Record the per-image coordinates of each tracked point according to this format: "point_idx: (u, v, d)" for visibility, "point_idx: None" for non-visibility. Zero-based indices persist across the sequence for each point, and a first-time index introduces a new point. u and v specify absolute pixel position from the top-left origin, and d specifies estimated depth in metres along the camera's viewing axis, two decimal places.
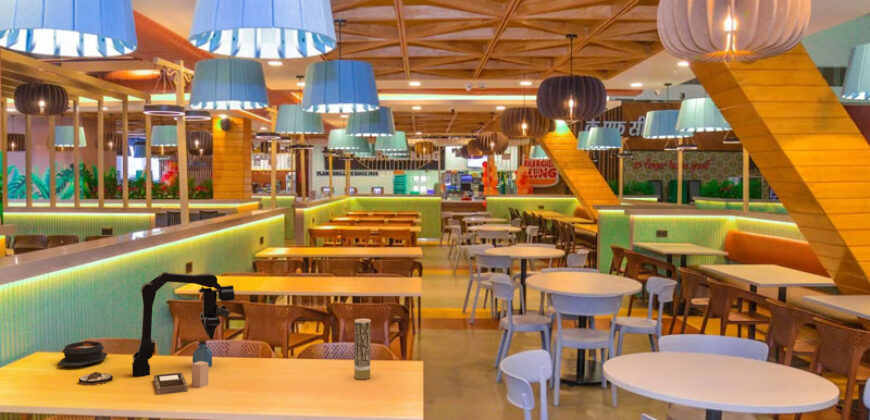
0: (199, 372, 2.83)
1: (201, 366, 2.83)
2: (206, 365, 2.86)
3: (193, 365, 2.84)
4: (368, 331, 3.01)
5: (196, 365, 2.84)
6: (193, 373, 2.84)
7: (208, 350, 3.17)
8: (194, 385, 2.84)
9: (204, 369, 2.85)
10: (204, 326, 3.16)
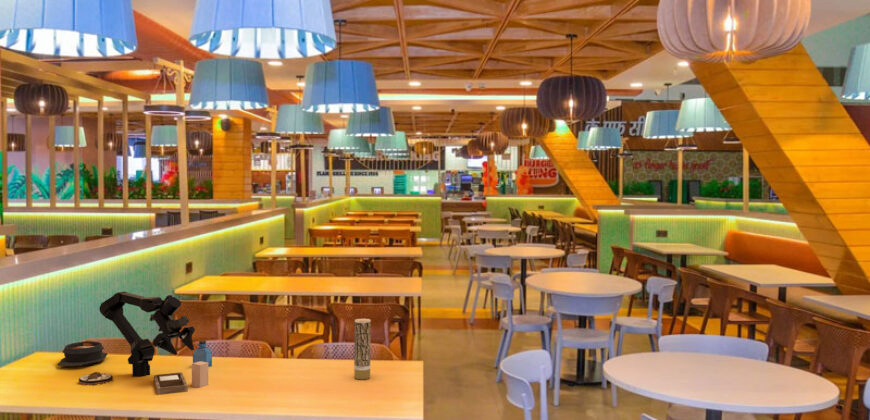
0: (199, 372, 2.83)
1: (201, 366, 2.83)
2: (206, 365, 2.86)
3: (193, 365, 2.84)
4: (368, 331, 3.01)
5: (196, 365, 2.84)
6: (193, 373, 2.84)
7: (208, 350, 3.17)
8: (194, 385, 2.84)
9: (204, 369, 2.85)
10: (186, 344, 2.96)
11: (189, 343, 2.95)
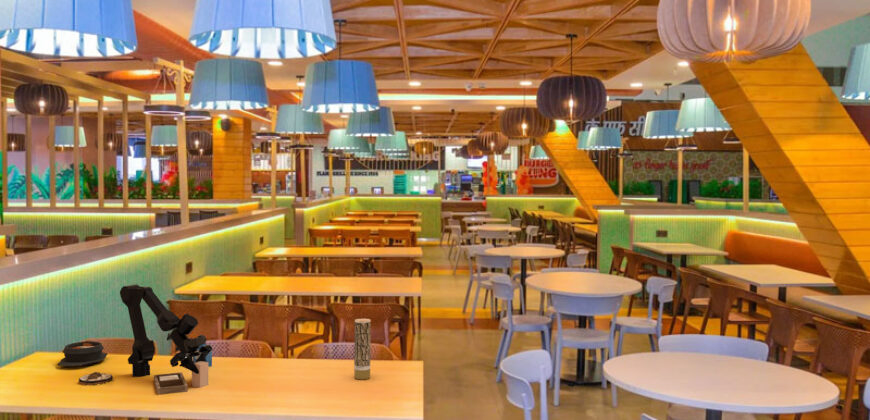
0: (199, 372, 2.83)
1: (201, 366, 2.83)
2: (206, 365, 2.86)
3: None
4: (368, 331, 3.01)
5: (196, 365, 2.84)
6: (193, 373, 2.84)
7: None
8: (194, 385, 2.84)
9: (204, 369, 2.85)
10: None
11: None
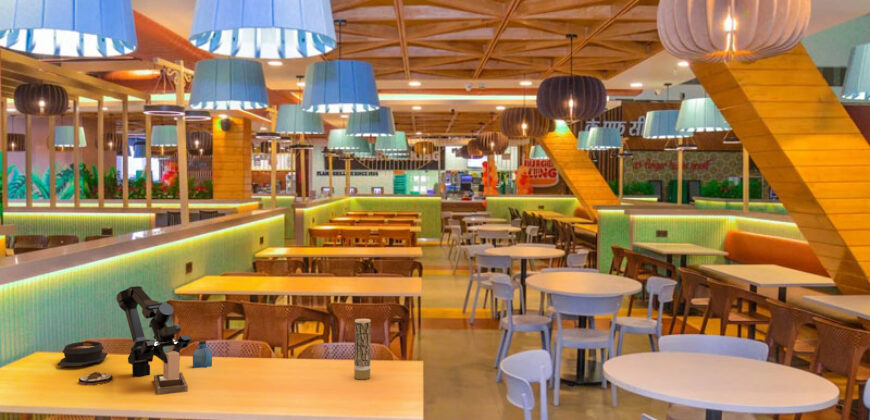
0: (168, 362, 2.77)
1: (170, 356, 2.77)
2: (176, 355, 2.79)
3: None
4: (368, 331, 3.01)
5: (166, 355, 2.78)
6: None
7: (208, 350, 3.17)
8: (164, 375, 2.79)
9: (174, 359, 2.79)
10: None
11: None
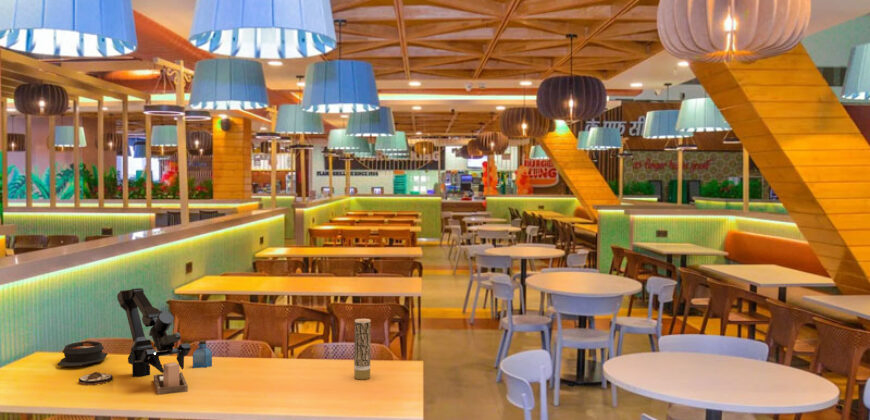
0: (168, 373, 2.77)
1: (170, 367, 2.77)
2: (176, 367, 2.79)
3: (164, 366, 2.79)
4: (368, 331, 3.01)
5: (166, 366, 2.78)
6: (164, 374, 2.80)
7: (208, 350, 3.17)
8: (165, 386, 2.79)
9: (174, 371, 2.79)
10: (178, 362, 2.85)
11: (180, 361, 2.84)
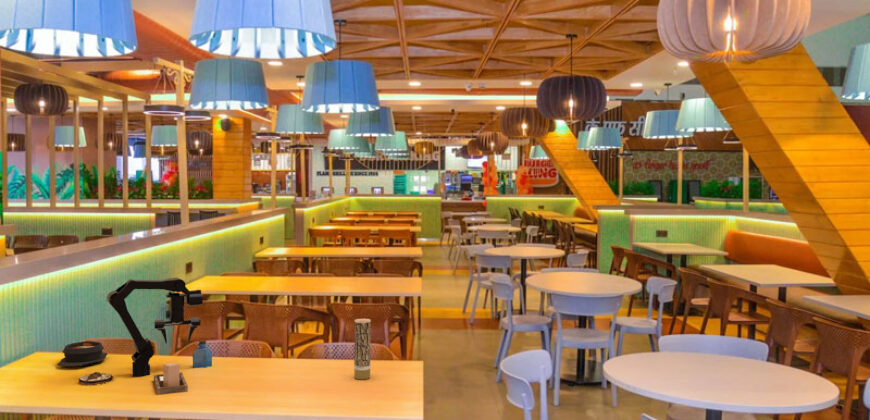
0: (168, 373, 2.77)
1: (170, 367, 2.77)
2: (176, 367, 2.79)
3: (164, 366, 2.79)
4: (368, 331, 3.01)
5: (166, 366, 2.78)
6: (164, 374, 2.80)
7: (208, 350, 3.17)
8: (165, 386, 2.79)
9: (174, 371, 2.79)
10: None
11: None
